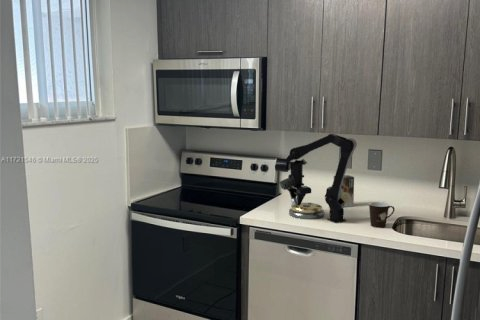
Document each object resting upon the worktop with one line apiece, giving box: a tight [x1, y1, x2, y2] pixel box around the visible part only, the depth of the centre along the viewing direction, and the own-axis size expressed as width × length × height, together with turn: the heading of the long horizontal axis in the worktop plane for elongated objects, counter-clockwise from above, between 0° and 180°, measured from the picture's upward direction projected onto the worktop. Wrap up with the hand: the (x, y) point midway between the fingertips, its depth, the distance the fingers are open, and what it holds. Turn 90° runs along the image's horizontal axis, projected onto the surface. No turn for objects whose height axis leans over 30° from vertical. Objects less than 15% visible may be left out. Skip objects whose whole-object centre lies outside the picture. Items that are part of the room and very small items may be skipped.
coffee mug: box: [368, 201, 395, 229], centre depth 197 cm, size 12×9×10 cm
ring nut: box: [290, 197, 323, 214], centre depth 217 cm, size 15×15×6 cm
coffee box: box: [333, 174, 355, 208], centre depth 234 cm, size 9×6×16 cm
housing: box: [288, 208, 325, 220], centre depth 217 cm, size 17×17×2 cm
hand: (296, 203), depth 215 cm, fingers open, 5 cm apart
